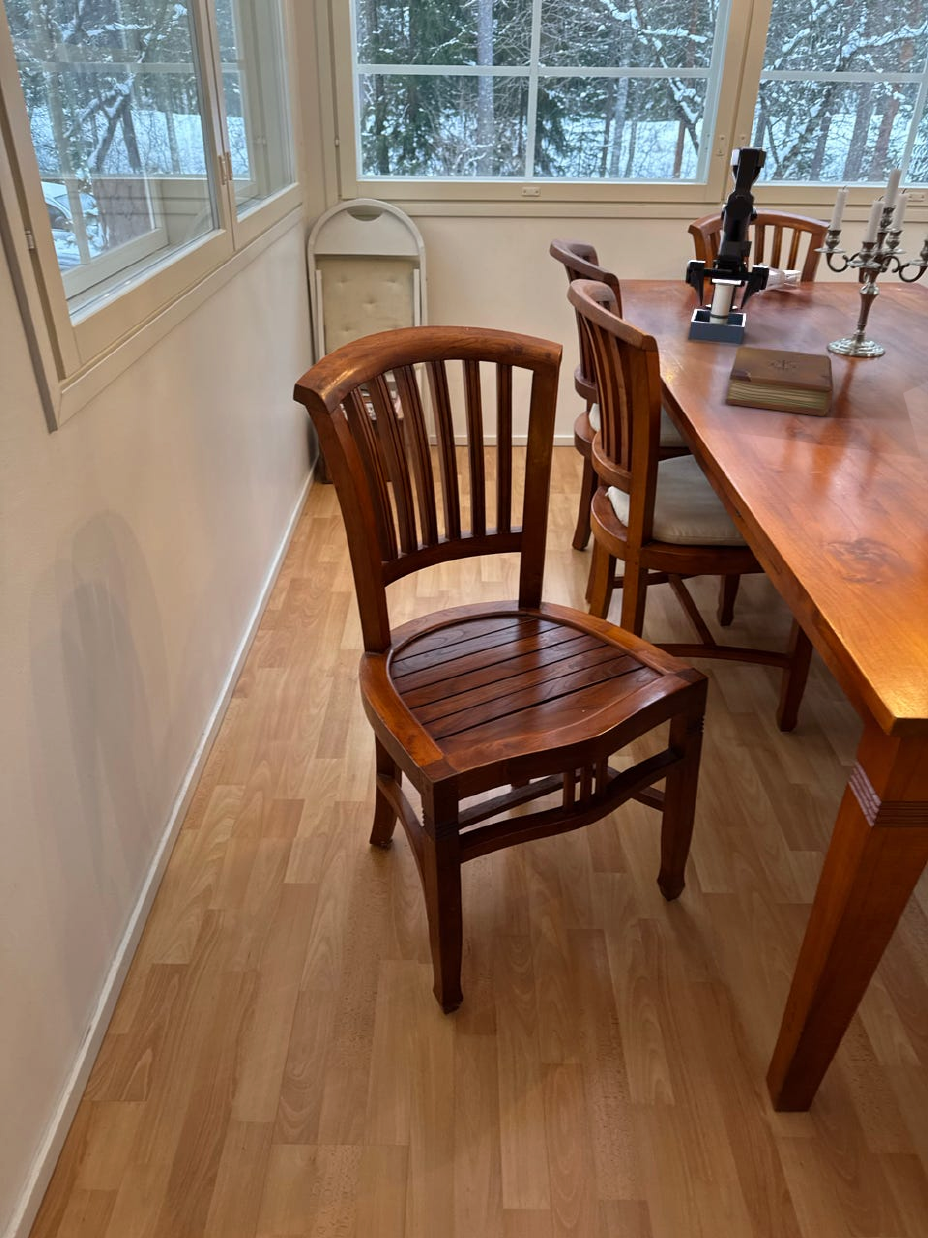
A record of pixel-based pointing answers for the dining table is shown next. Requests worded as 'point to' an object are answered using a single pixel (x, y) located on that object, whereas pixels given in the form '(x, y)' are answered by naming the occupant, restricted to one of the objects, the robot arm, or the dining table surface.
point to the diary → (781, 381)
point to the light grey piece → (721, 303)
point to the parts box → (717, 328)
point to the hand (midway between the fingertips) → (720, 306)
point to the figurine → (780, 279)
